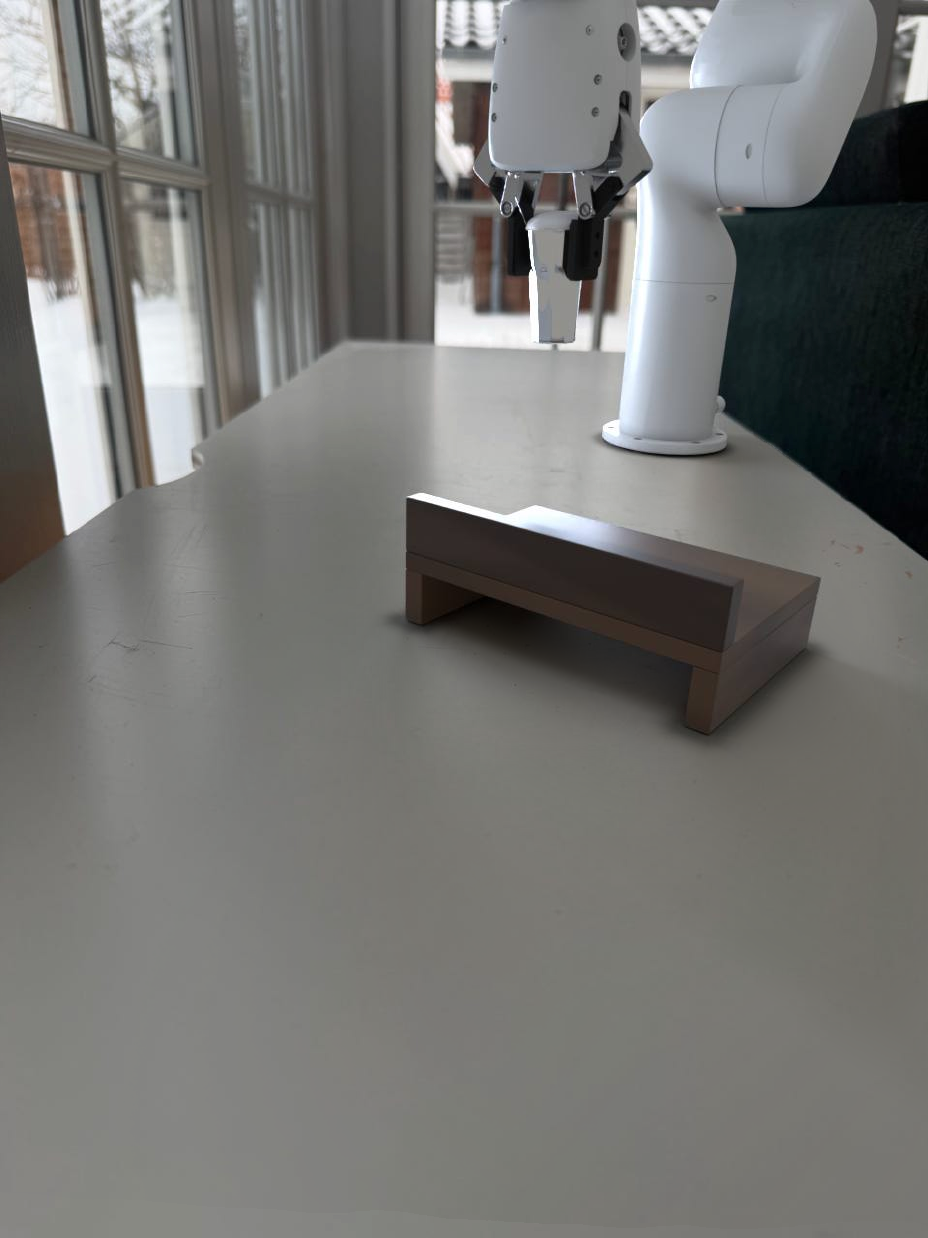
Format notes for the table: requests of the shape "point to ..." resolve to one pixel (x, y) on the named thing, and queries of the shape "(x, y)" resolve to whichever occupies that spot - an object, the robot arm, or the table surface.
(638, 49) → the robot arm
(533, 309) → the milkshake
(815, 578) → the shelf
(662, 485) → the table surface
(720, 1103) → the table surface
